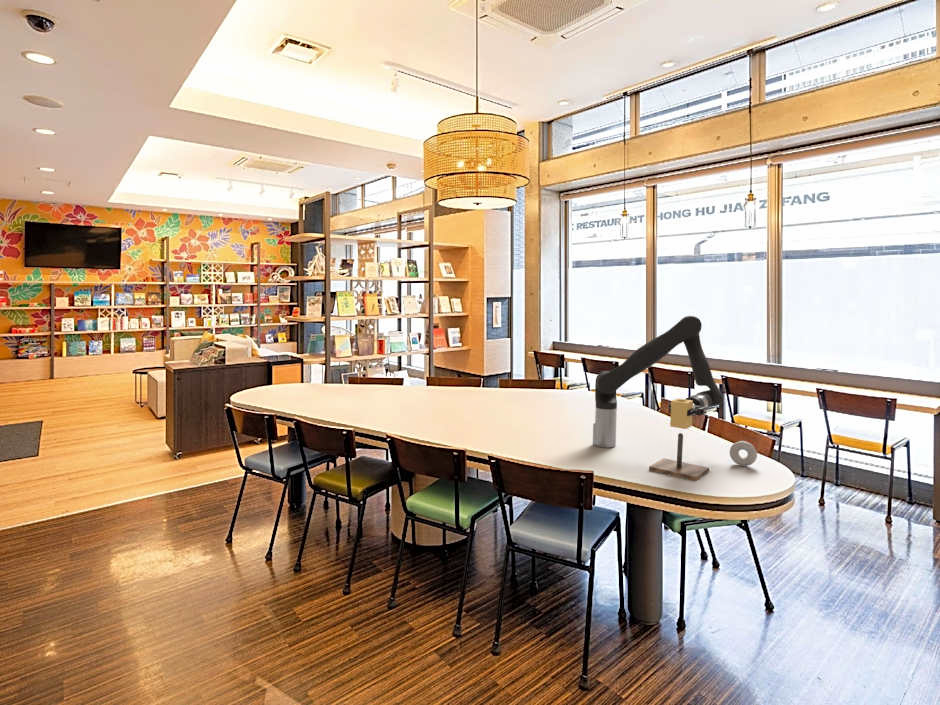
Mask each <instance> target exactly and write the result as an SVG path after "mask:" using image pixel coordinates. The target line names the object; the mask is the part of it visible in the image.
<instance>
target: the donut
mask: <svg viewBox="0 0 940 705" xmlns="http://www.w3.org/2000/svg"><path fill="white" fill-rule="evenodd" d="M741 450H744V451H745V452H746V453H747V456H744V457H743V456H741V455H740V454H739V452H740V451H741ZM729 457H730V458H731V460H732V462H734V463H735V464H737V465H739V466H742V467H748V466H751V465H753V464H754V463H755V462H756V460H757V458H758V452H757V449H756V447H755V446H754V445H753V444H752V443H750V442H748V441H745V440H738V441H736V442H734V443H732V444H731V446H730V448H729Z"/></svg>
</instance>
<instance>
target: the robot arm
mask: <svg viewBox="0 0 940 705" xmlns="http://www.w3.org/2000/svg"><path fill="white" fill-rule="evenodd" d="M701 330H702V321H701V319H700V318H699V317H697V316H694V315H686V316H684V317H683V318H681V319H679V321H678V322H677V323H675V325H673V326H672V327H670V329H668V330H667V331H666V332H664V333H662V334H661V335H658V336H657V337H655V338H653V339H651V340H650V341H648V342H646V343H645V344H644V345H641V346H640V347H639V348H637V349H636V350H635V351H634V352H632V353H631V355H629V356H628V357H627V358H626V360H624V361H623V363H621V364H620V365H619V366H617V367H615V368H613V369H612V370H610V371H609V370H603V371H601V372H599V373H598V374H597V376H596V377H595V387H594V389H595V391H594V392H595V394H594V399H595V410H594V412H595V413H594V414H595V415H594V418H595V419H594V423H593V424H592V425H593V426H592V445H595V446H596V447H600V448H604V449H605V448H614V447H616V445H617V444H616V443H617V439H616V438H617V411H618V401H617V390H618V389H619V388H621V387H622V386H623V385H624V384H626V383H627V382H628V381H629V380H631V379H632V378H633V377H636V376H637V375H638V374H640V373H643V372H644V371H645V370H647V369H648V368H650V367H652V366H653V365H655V364H656V363H657V362H660V361H661V360H662V359H663V358H664V357H665V356H667V355H668V354H669V353H670V352H671V351H672V350H674V348H676V347H677V346H679V345H680V344H682V343H683V344H684V347H685V349H686V351H687V354H688V359H689V363H690V367H691V370H692V373H693V377H694V381H695V384H696V385H697V386H698V387H699V386H700V387H702V386H703V387H705V386H706V387H707V388H708V389H709V390H707V389H706V390H703V391H699V392H698V393H696V394H694V395H690V396H689V397H688V396H687V397H686V398H684V399H685V400H693V408H692V409H689V410H687V416H690V415H692V417H695V416H702V415H705V414H706V415H707V413H708V409H710V408H711V407H717V406H718V407H719V406H721V405H723V402H724V395H723V393H722V391H721V389H720V388H719V387H718V385H717V383H716V380H715V379H714V377H713V375H712V373H713V372H712V371H711V367H710V364H709V361H708V359H707V356H706V355H705V353H704V349H703V348H702V346H703V345H702V342H701V339H700V338H701V337H700V332H701ZM668 412H669V414H671V402H670V403H669V404H668Z"/></svg>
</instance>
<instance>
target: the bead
mask: <svg viewBox="0 0 940 705" xmlns="http://www.w3.org/2000/svg"><path fill="white" fill-rule="evenodd" d="M685 399H686V398H676V399H673V400H671V401H670V403H671V413H670V423H669V426H670V427H671V428H677V429H681V430H682V429H683V430H688V429H689V428H691V427H692V426H693V416H692V415H690V416H687V410H689V409H692V408H693V400H685Z"/></svg>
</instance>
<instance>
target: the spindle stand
mask: <svg viewBox="0 0 940 705" xmlns="http://www.w3.org/2000/svg"><path fill="white" fill-rule="evenodd" d="M683 443H684V435H683V433H682V432H679V433H678V434H677V452H676V455H677V456H676V460H674V459H668V458H665V457H663V458H661V459H659V460H658V461H656V462H655V463H653V464H651V465H649V466H648V471H651V470H653V471H652V472H655V471H657V472H656V473H659V472H662V473H661V474H664V473H666V474H665V475H668V474H670V475H669V476H673V475H674V476H673V477H677V476H679V477H678V478H681V477H683V478H682V479H686V478H688V479H687V480H690V479H691V481H695V480H696V481H698V480H699V479H701V478H702V477H703V476H705V475H706V474H707V472H708V473H710V467H707V466H703V465H698V464H695V463H694V464H693V463H689V462H683V447H684V446H683ZM704 474H705V475H704ZM701 476H702V477H701ZM700 477H701V478H700ZM697 479H698V480H697Z"/></svg>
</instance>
